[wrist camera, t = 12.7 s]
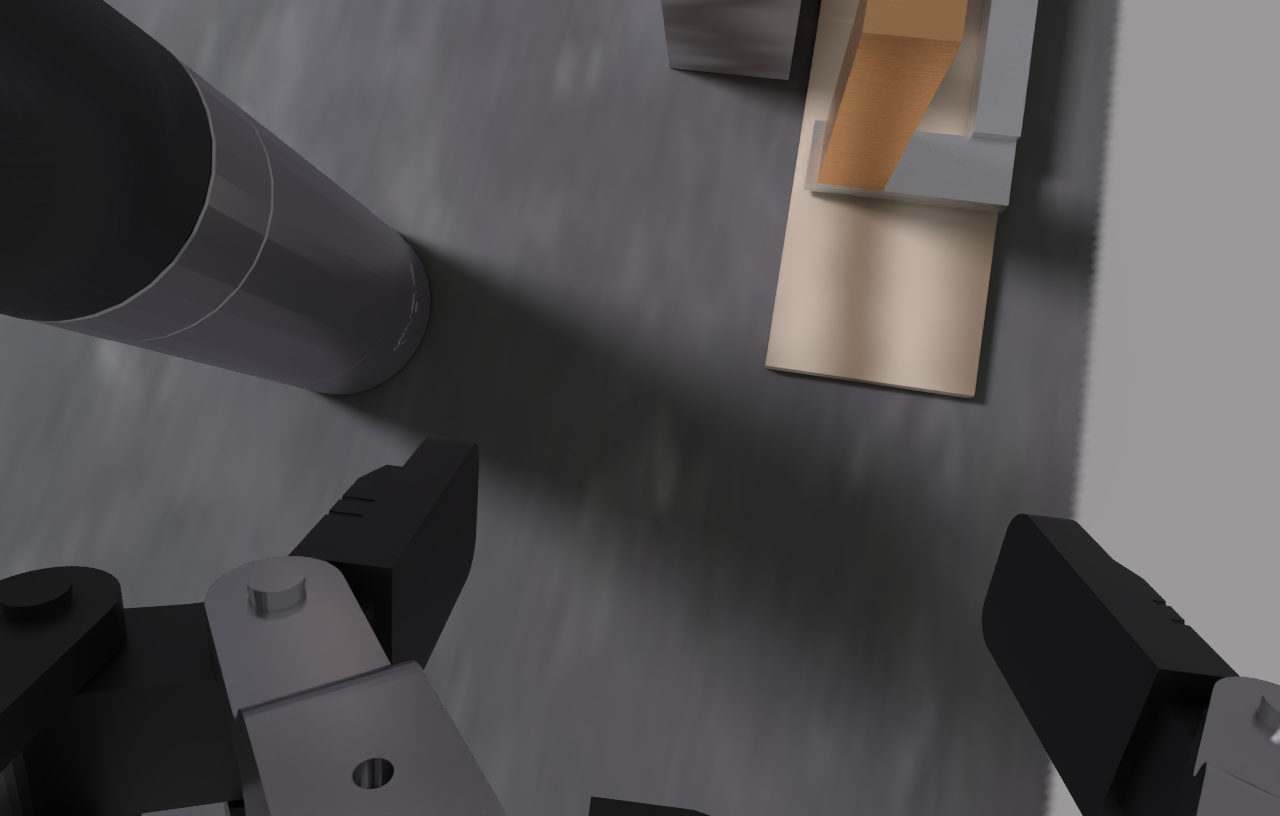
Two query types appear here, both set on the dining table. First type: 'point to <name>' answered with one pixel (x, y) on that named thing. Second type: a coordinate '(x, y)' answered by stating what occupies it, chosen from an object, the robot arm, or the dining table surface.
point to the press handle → (924, 106)
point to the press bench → (857, 217)
